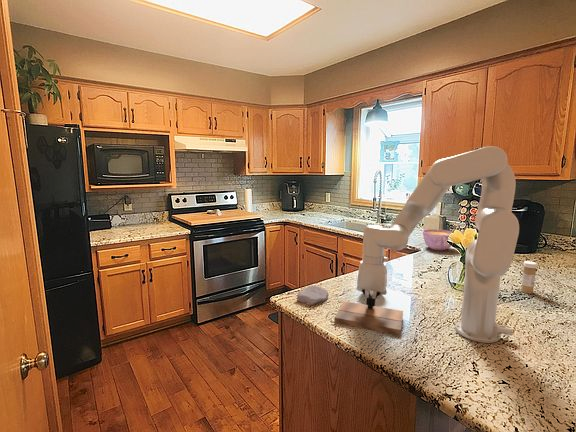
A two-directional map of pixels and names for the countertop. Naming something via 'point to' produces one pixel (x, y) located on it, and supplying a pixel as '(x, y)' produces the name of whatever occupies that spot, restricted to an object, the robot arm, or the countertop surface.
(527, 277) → the sprinkles bottle
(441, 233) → the bowl of food
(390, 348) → the countertop surface
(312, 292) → the stone block
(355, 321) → the walnut board
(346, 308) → the chestnut plank
